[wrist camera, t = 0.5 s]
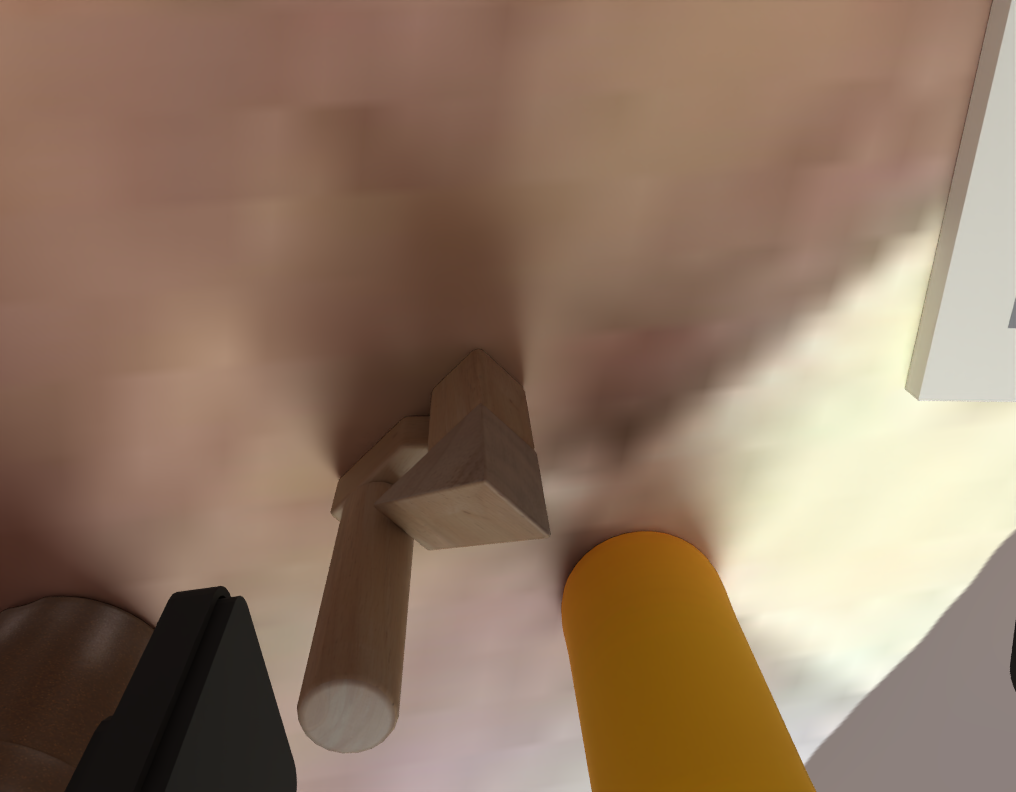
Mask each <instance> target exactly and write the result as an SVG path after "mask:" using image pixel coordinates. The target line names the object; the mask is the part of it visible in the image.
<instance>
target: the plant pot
mask: <svg viewBox="0 0 1016 792" xmlns="http://www.w3.org/2000/svg"><path fill="white" fill-rule="evenodd" d="M153 631H154V629H153V628H151V627H150V626H149V625H148V624H146V623H145V622H144V621H142V620H140V619H139V618H137V617H135V616H134V615H132V614H130V613H128V612H126V611H124V610H122V609H119V608H117V607H114V606H111V605H109V604H106V603H102V602H99V601H95V600H91V599H86V598H77V597H46V598H42V599H40V600H37V601H35V602H33V603H30V604H27V605H24V606H20V607H16V608H9V609H6V610H4V611H2V612H1V613H0V792H64V791H65V789H66V787H67V785H68V783H69V781H70V779H71V777H72V775H73V773H74V771H75V769H76V767H77V765H78V763H79V761H80V759H81V757H82V755H83V753H84V751H85V749H86V747H87V745H88V743H89V741H90V739H91V737H92V735H93V733H94V731H95V730H96V729H97V727H98V726H99V724H100V723H101V721H102V720H104V719H106V718H107V717H109V716H112V715H113V714H114V712H115V710H116V708H117V706H118V704H119V702H120V700H121V698H122V696H123V693H124V691H125V689H126V687H127V685H128V683H129V681H130V679H131V677H132V675H133V673H134V671H135V669H136V667H137V665H138V662H139V660H140V658H141V656H142V654H143V652H144V650H145V648H146V646H147V644H148V642H149V640H150V638H151V636H152V634H153Z"/></svg>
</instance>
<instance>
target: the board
mask: <svg viewBox="0 0 1016 792" xmlns="http://www.w3.org/2000/svg"><path fill="white" fill-rule="evenodd" d="M905 390H906V391H908V392H909V393H910V394H911V395H912V396H914V397H915V398H916V399H917V400H918V401H982V402H1016V0H993V2H992V7H991V11H990V15H989V20H988V24H987V29H986V33H985V38H984V42H983V46H982V51H981V55H980V60H979V64H978V69H977V73H976V77H975V82H974V86H973V91H972V95H971V100H970V104H969V108H968V113H967V117H966V122H965V126H964V131H963V135H962V139H961V144H960V148H959V153H958V157H957V162H956V166H955V170H954V175H953V179H952V184H951V188H950V193H949V197H948V201H947V206H946V210H945V215H944V219H943V224H942V228H941V232H940V237H939V241H938V246H937V250H936V255H935V259H934V263H933V268H932V272H931V277H930V281H929V286H928V290H927V294H926V299H925V303H924V308H923V312H922V317H921V321H920V325H919V330H918V334H917V339H916V343H915V348H914V352H913V356H912V361H911V365H910V370H909V374H908V379H907V383H906V387H905Z"/></svg>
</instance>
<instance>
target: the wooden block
mask: <svg viewBox="0 0 1016 792" xmlns="http://www.w3.org/2000/svg"><path fill="white" fill-rule="evenodd" d="M331 514H332V515H333V517H334V518H336V519H337V520H338V521H340V524H339V529H338V533H337V537H336V542H335V546H334V550H333V555H332V559H331V563H330V567H329V572H328V576H327V580H326V585H325V589H324V593H323V598H322V602H321V606H320V610H319V615H318V619H317V623H316V628H315V632H314V636H313V641H312V645H311V649H310V653H309V658H308V662H307V666H306V671H305V675H304V679H303V684H302V688H301V692H300V696H299V701H298V705H297V712H298V720H299V722H300V725H301V727H302V729H303V730H304V732H305V734H306V735H307V736H308V737H309V738H310V739H311V740H312V741H313V742H314V743H315V744H317V745H319V746H321V747H323V748H325V749H327V750H330V751H335V752H339V753H359V752H362V751H366V750H369V749H372V748H374V747H375V746H377V745H379V744H380V743H382V742H383V741H384V740H385V739H386V738H387V737H388V735H389V734H390V733H391V732H392V731H393V729H394V728H395V725H396V722H397V719H398V717H399V706H400V694H401V683H402V671H403V660H404V648H405V636H406V625H407V613H408V601H409V590H410V578H411V566H412V555H413V543H414V539H415V540H416V541H417V542H418V543H420V544H421V545H422V546H423V547H425V548H426V549H427V550H439V549H448V548H457V547H467V546H476V545H486V544H495V543H504V542H514V541H523V540H533V539H542V538H548V537H550V535H551V533H550V528H549V522H548V516H547V510H546V504H545V499H544V493H543V487H542V481H541V475H540V470H539V464H538V458H537V454H536V452H535V451H534V442H533V436H532V431H531V425H530V419H529V413H528V407H527V402H526V396H525V391H524V389H523V387H522V386H521V385H520V384H519V383H518V382H517V381H515V380H514V379H513V378H512V377H511V376H510V375H509V374H508V373H507V372H506V371H505V370H503V369H502V368H501V367H500V366H499V365H498V364H497V363H496V362H495V361H494V360H493V359H492V358H490V357H489V356H488V355H487V354H486V353H485V352H484V351H483V350H480V349H476V350H473V351H472V352H471V353H470V354H469V355H468V356H467V357H466V358H465V359H464V360H463V361H462V362H461V363H460V364H459V365H458V366H456V367H455V368H454V369H453V370H452V371H451V372H450V373H449V374H448V375H447V376H446V377H445V378H444V379H443V380H442V381H441V382H440V383H439V384H438V385H437V386H436V387H435V388H434V389H433V391H432V394H431V407H430V416H411V417H405V418H403V419H402V420H401V421H400V422H399V423H398V424H396V425H395V426H394V427H393V428H392V429H391V430H390V431H389V432H388V433H387V434H386V435H385V436H384V437H383V438H382V439H381V440H380V441H379V442H378V443H377V444H376V445H375V446H374V447H373V448H372V449H371V450H369V451H368V452H367V453H366V454H365V455H364V456H363V457H362V458H361V459H360V460H359V461H358V462H357V463H356V464H355V465H354V466H353V467H352V468H351V469H350V470H349V471H348V472H347V473H346V474H345V475H344V476H342V477H341V478H340V479H339V482H338V485H337V489H336V493H335V496H334V500H333V504H332V508H331Z"/></svg>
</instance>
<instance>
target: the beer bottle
mask: <svg viewBox="0 0 1016 792" xmlns="http://www.w3.org/2000/svg"><path fill="white" fill-rule="evenodd" d="M561 612H562V626H563V632H564V636H565V641H566V645H567V649H568V654H569V659H570V665H571V671H572V677H573V683H574V689H575V695H576V701H577V706H578V712H579V718H580V724H581V730H582V736H583V742H584V748H585V754H586V760H587V766H588V771H589V777H590V783H591V789H592V792H816V790H815V788H814V786H813V784H812V782H811V780H810V778H809V776H808V774H807V771H806V770H805V767H804V765H803V763H802V760H801V758H800V756H799V754H798V752H797V749H796V747H795V745H794V743H793V741H792V739H791V736H790V734H789V732H788V730H787V728H786V725H785V723H784V721H783V719H782V717H781V714H780V712H779V710H778V708H777V706H776V703H775V701H774V699H773V697H772V695H771V692H770V690H769V688H768V686H767V684H766V681H765V679H764V677H763V675H762V673H761V670H760V668H759V666H758V664H757V662H756V660H755V657H754V655H753V653H752V651H751V649H750V646H749V644H748V642H747V640H746V638H745V635H744V633H743V631H742V629H741V627H740V624H739V622H738V620H737V618H736V615H735V613H734V611H733V608H732V606H731V603H730V600H729V598H728V595H727V593H726V590H725V588H724V586H723V583H722V581H721V579H720V577H719V575H718V573H717V571H716V570H715V568H714V567H713V566H712V564H711V563H710V562H709V560H708V559H707V558H706V557H705V556H704V555H703V553H701V552H700V551H699V550H698V549H697V548H695V547H694V546H693V545H692V544H690V543H688V542H686V541H684V540H683V539H681V538H678V537H675V536H672V535H669V534H666V533H660V532H654V531H638V532H632V533H626V534H622V535H619V536H616V537H613V538H610V539H608V540H606V541H604V542H602V543H600V544H599V545H597V546H596V547H594V548H593V549H592V550H590V551H589V552H588V553H586V554H585V555H584V557H583V558H582V559H581V560H580V561H579V562H578V563H577V564H576V566H575V567H574V569H573V570H572V572H571V574H570V575H569V577H568V580H567V582H566V585H565V587H564V592H563V599H562V605H561Z"/></svg>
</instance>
